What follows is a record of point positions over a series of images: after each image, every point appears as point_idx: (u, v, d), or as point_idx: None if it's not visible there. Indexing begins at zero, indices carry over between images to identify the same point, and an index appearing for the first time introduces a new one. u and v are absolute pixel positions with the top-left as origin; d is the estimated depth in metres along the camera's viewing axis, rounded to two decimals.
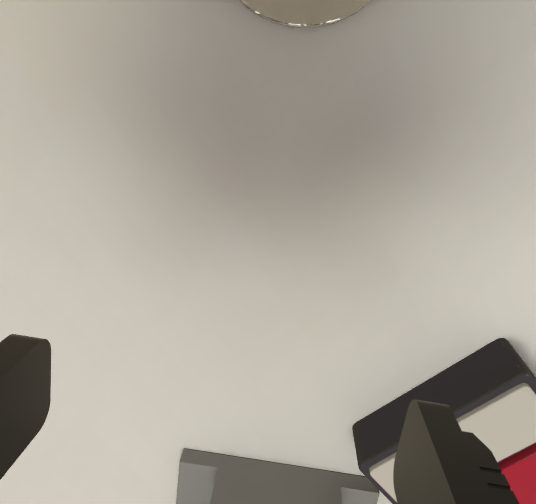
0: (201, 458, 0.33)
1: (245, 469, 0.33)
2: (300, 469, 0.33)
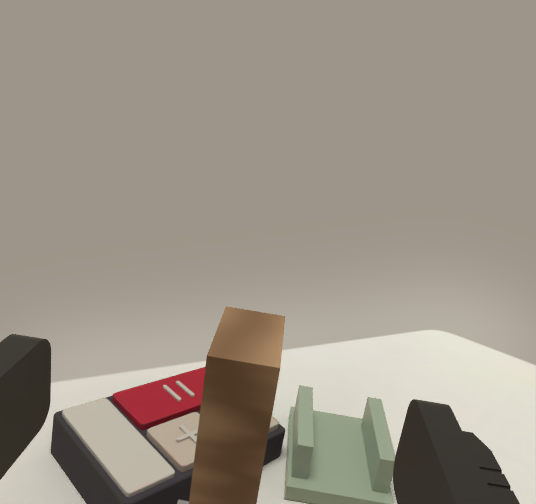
0: None
1: None
2: None
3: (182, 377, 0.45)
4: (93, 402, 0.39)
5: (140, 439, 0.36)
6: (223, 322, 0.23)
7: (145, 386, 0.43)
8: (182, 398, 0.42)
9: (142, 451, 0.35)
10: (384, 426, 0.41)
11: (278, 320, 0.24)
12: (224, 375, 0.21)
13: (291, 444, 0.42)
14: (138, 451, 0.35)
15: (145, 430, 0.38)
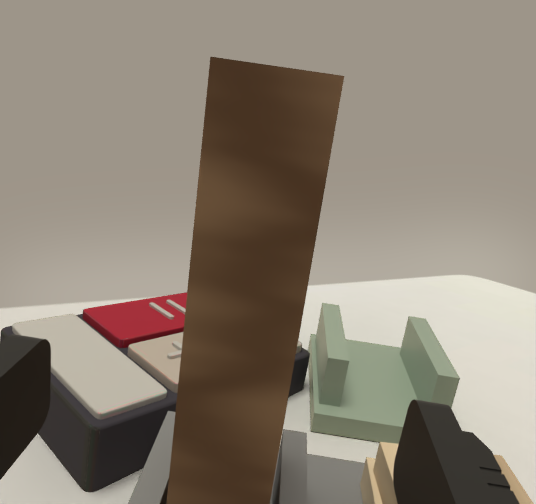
0: None
1: None
2: None
3: (174, 297, 0.35)
4: (56, 317, 0.30)
5: (118, 355, 0.27)
6: None
7: (126, 304, 0.33)
8: (175, 316, 0.32)
9: (121, 368, 0.26)
10: (435, 343, 0.32)
11: None
12: (242, 98, 0.11)
13: (315, 370, 0.32)
14: (115, 368, 0.25)
15: (126, 348, 0.28)
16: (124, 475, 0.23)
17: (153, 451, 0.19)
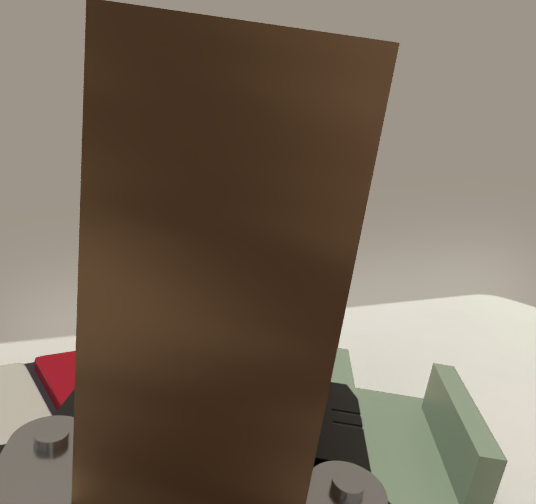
0: None
1: None
2: None
3: None
4: None
5: None
6: None
7: None
8: None
9: None
10: (470, 404, 0.25)
11: None
12: (162, 96, 0.05)
13: None
14: None
15: None
16: None
17: None
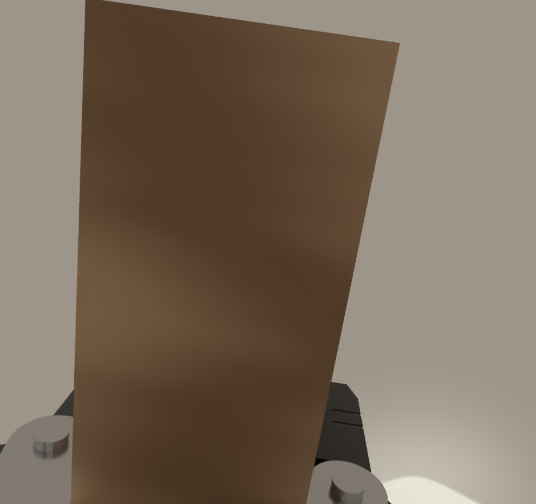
0: None
1: None
2: None
3: None
4: None
5: None
6: None
7: None
8: None
9: None
10: None
11: None
12: (162, 96, 0.05)
13: None
14: None
15: None
16: None
17: None
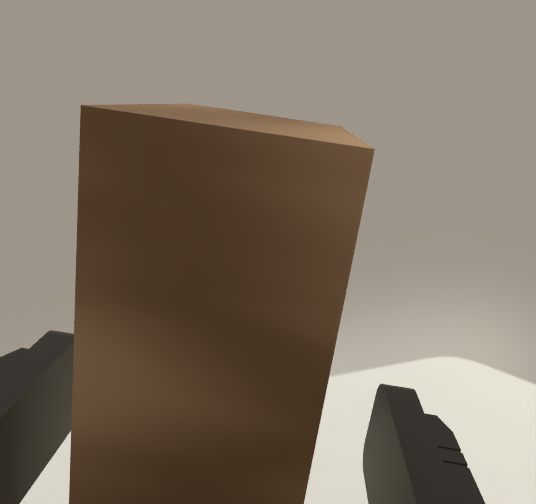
0: None
1: None
2: None
3: None
4: None
5: None
6: (174, 106, 0.08)
7: None
8: None
9: None
10: None
11: (326, 125, 0.09)
12: (153, 194, 0.05)
13: None
14: None
15: None
16: None
17: None
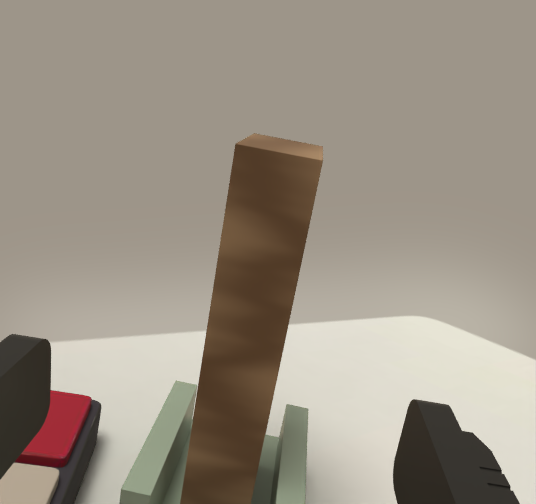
0: None
1: None
2: None
3: None
4: None
5: None
6: (252, 137, 0.20)
7: None
8: None
9: None
10: (300, 457, 0.24)
11: (315, 146, 0.21)
12: (254, 171, 0.17)
13: None
14: None
15: None
16: None
17: None
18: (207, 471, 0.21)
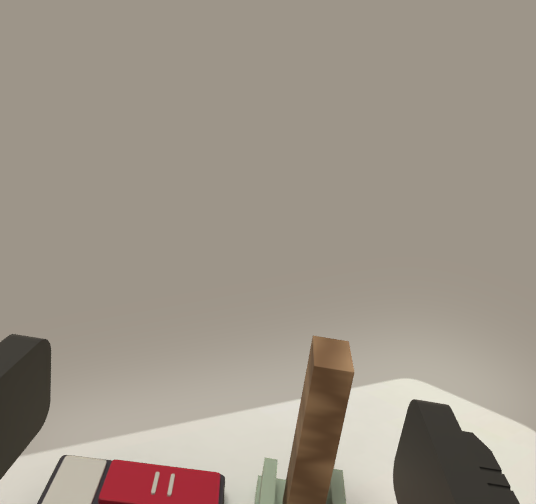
0: None
1: None
2: None
3: (184, 472, 0.45)
4: (92, 460, 0.45)
5: None
6: (315, 346, 0.40)
7: (144, 465, 0.45)
8: (158, 492, 0.43)
9: None
10: (342, 501, 0.43)
11: (345, 344, 0.41)
12: (322, 377, 0.37)
13: None
14: None
15: None
16: None
17: None
18: None
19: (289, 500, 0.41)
